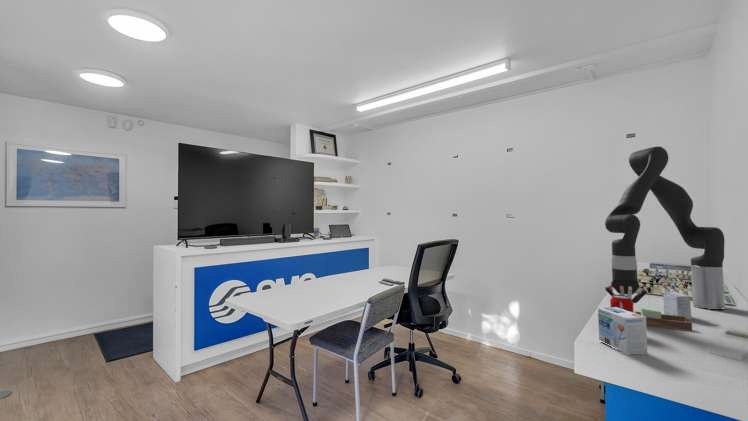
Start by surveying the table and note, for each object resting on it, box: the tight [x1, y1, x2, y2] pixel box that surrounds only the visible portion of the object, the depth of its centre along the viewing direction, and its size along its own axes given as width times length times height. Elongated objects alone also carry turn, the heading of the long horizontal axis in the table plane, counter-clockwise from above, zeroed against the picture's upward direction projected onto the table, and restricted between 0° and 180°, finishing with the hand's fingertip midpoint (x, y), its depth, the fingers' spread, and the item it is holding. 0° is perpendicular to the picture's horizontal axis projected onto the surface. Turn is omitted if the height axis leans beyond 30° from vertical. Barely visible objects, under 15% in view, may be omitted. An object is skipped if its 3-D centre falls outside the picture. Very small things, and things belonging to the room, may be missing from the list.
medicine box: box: [662, 291, 692, 321], centre depth 125 cm, size 8×4×9 cm, turn 168°
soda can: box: [609, 294, 635, 313], centre depth 111 cm, size 6×6×12 cm
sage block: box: [639, 306, 662, 319], centre depth 119 cm, size 5×5×5 cm
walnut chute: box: [634, 311, 693, 331], centre depth 117 cm, size 8×14×2 cm, turn 59°
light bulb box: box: [597, 306, 648, 356], centre depth 98 cm, size 11×7×11 cm, turn 5°
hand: (626, 313), depth 122 cm, fingers closed
